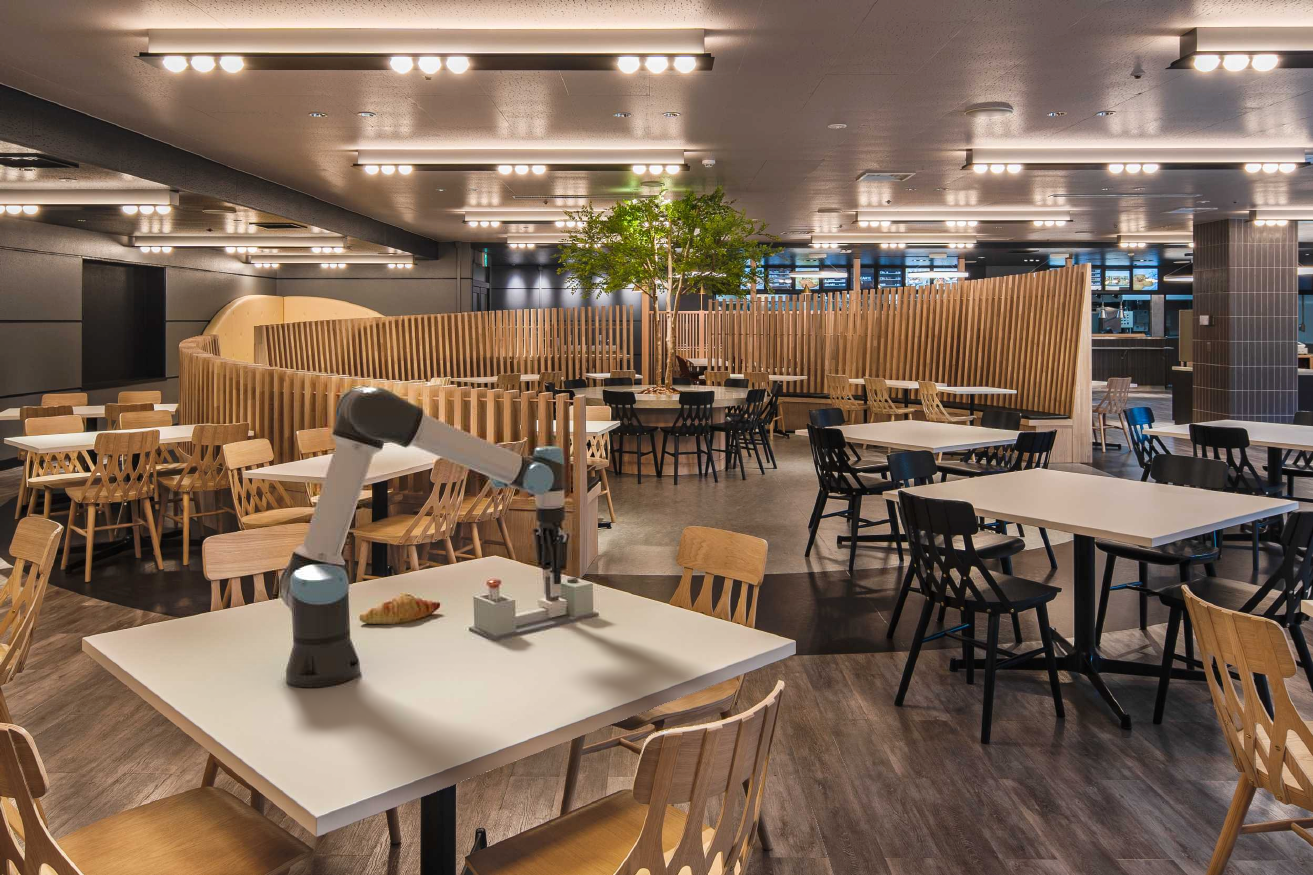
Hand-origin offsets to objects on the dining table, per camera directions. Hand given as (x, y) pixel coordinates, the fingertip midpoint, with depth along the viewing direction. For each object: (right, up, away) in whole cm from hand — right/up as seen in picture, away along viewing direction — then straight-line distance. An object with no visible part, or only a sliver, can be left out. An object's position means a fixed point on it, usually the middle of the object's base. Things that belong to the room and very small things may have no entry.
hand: (552, 594), depth 239 cm
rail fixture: (-4, -7, -3) cm, 9 cm away
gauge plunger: (-13, -3, -11) cm, 18 cm away
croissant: (-40, -7, +2) cm, 41 cm away
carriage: (0, -5, 0) cm, 5 cm away
